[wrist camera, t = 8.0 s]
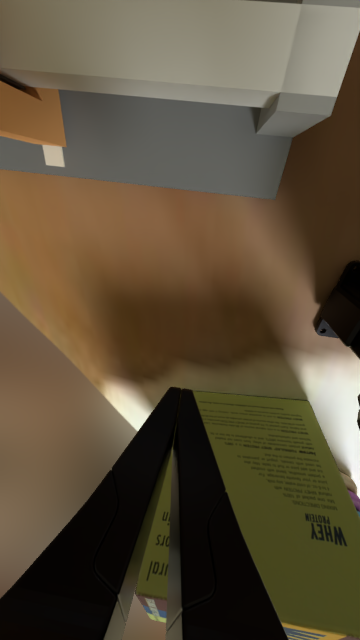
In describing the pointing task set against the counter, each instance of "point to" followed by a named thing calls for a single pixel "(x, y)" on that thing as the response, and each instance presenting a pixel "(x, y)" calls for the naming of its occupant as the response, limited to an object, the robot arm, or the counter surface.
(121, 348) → the counter surface
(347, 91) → the counter surface
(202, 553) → the robot arm
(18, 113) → the collar
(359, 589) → the protein box
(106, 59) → the pipe rig
